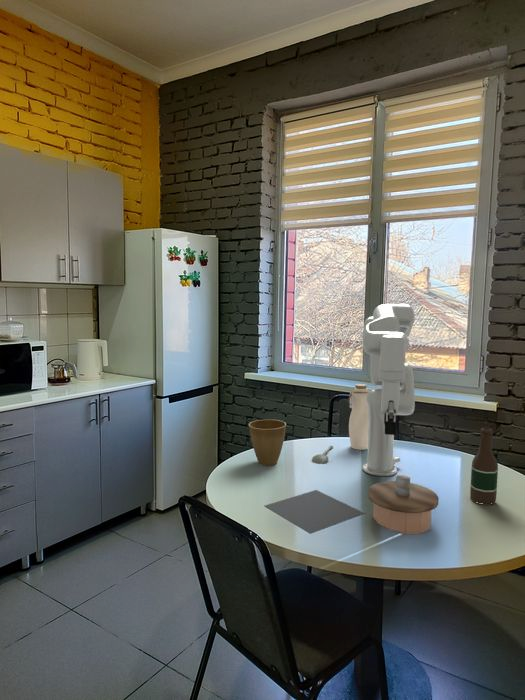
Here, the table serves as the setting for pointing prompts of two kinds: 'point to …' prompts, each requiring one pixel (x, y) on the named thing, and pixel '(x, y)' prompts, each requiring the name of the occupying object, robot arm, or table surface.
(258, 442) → the plant pot
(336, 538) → the table surface
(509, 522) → the table surface
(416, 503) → the lid
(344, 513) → the mat
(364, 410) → the water bottle
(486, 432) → the beer bottle
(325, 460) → the soupspoon
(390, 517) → the bowl
